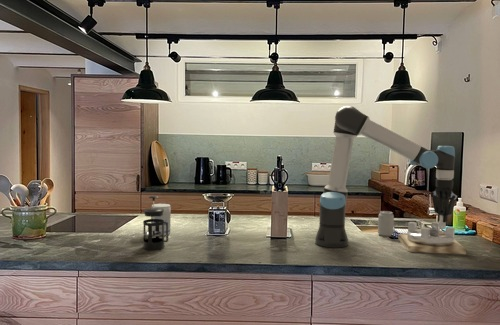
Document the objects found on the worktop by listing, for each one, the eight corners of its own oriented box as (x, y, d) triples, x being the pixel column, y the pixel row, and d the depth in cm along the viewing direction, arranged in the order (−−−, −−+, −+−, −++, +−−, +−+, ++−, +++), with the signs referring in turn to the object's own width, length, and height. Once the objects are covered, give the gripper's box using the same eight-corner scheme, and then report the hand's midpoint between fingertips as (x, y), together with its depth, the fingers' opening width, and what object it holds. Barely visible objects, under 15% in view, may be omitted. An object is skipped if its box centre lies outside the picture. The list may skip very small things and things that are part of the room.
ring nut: (412, 244, 189) (413, 229, 189) (403, 234, 209) (403, 219, 209) (460, 247, 187) (461, 231, 186) (446, 235, 206) (447, 221, 206)
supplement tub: (152, 237, 208) (152, 207, 207) (149, 232, 217) (149, 204, 216) (172, 235, 212) (172, 206, 211) (168, 231, 221) (168, 202, 220)
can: (394, 237, 214) (395, 213, 213) (378, 236, 215) (379, 212, 214) (392, 233, 221) (393, 210, 220) (377, 232, 223) (377, 210, 222)
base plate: (408, 251, 189) (408, 245, 189) (398, 238, 211) (398, 233, 210) (465, 254, 186) (466, 248, 185) (449, 241, 207) (450, 235, 207)
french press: (138, 249, 186) (137, 197, 184) (146, 244, 196) (146, 194, 194) (163, 251, 185) (163, 198, 183) (171, 245, 194) (171, 195, 192)
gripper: (462, 180, 196) (460, 230, 198) (437, 177, 207) (435, 225, 209) (452, 180, 192) (449, 232, 194) (427, 177, 203) (425, 226, 205)
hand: (442, 228), depth 202 cm, fingers closed
